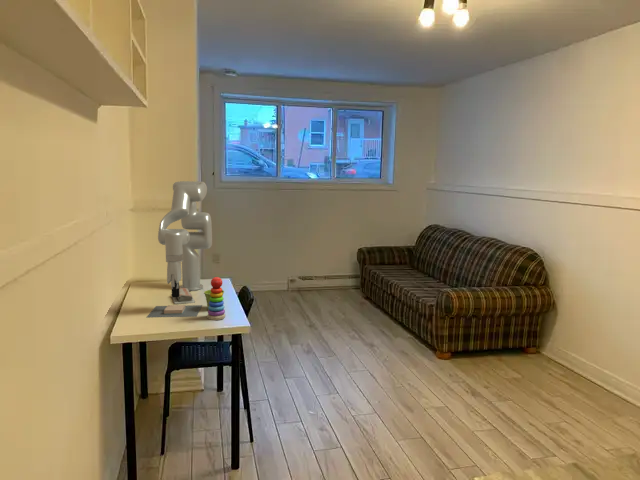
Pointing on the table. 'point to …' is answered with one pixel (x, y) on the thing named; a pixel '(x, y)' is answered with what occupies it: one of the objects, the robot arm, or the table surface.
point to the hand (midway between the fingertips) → (175, 296)
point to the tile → (174, 309)
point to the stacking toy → (216, 300)
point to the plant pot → (207, 294)
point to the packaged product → (183, 297)
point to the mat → (189, 312)
